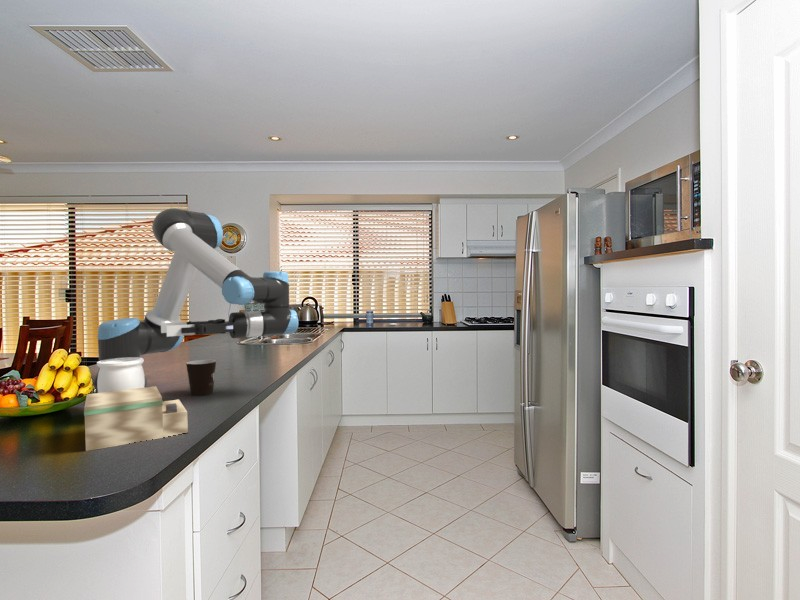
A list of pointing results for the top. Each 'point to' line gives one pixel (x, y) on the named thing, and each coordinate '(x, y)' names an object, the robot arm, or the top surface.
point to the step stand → (131, 417)
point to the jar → (120, 374)
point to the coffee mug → (201, 376)
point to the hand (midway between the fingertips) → (163, 329)
